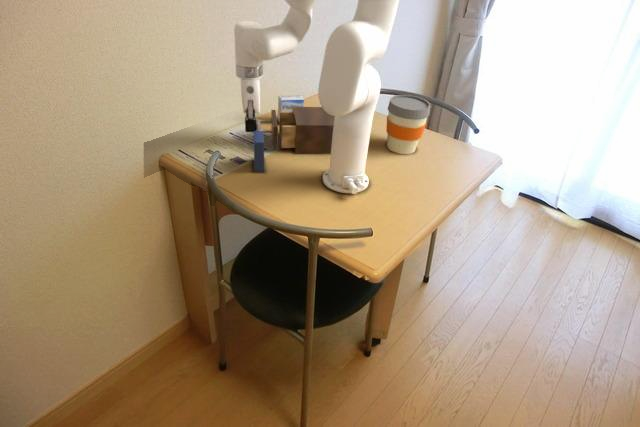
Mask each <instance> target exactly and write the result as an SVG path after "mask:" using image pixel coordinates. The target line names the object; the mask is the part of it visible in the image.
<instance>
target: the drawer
mask: <svg viewBox="0 0 640 427" xmlns="http://www.w3.org/2000/svg"><path fill="white" fill-rule="evenodd" d="M278 123H279V124H278ZM261 124H270V130H267V129H263V130H262V129H261V128H262V127H261ZM256 131H263V134H271V144H272V151H278V133H279V138H280V139H279V141H280V147H281V149H294V148H295V143H296V123H295V119H294V114H293V112H283V111H280V117H279V121H278V118H277V113H276V109H271V112H270V120H267V119H266V120H263V119H262V120H261V119H259V118H256Z"/></svg>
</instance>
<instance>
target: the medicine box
mask: <svg viewBox="0 0 640 427" xmlns="http://www.w3.org/2000/svg"><path fill="white" fill-rule="evenodd" d="M277 99H278V100H277V104H278V106H277V122H279V117H280V111H283V112H292V107H305V99H304V98H303V95H278V98H277Z"/></svg>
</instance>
